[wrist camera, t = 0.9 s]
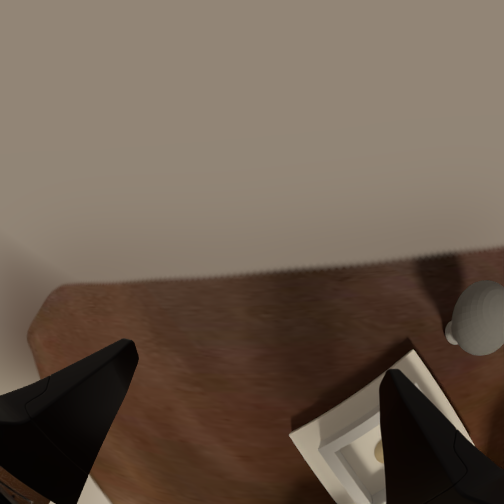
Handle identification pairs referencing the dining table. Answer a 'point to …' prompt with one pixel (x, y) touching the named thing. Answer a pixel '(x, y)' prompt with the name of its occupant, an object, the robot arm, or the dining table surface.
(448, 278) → the dining table surface
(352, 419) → the socket base
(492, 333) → the light bulb
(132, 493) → the dining table surface
